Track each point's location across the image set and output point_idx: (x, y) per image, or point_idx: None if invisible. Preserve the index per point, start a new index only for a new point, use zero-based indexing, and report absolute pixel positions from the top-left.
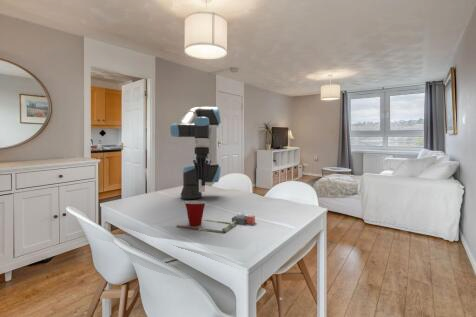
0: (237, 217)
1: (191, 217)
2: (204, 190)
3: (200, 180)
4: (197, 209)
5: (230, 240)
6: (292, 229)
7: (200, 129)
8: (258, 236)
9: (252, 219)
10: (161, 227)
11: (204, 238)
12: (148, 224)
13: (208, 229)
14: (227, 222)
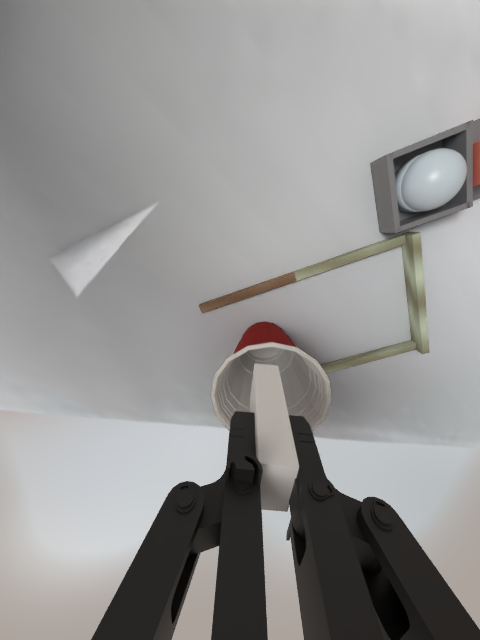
0: (424, 210)
1: None
2: (278, 375)
3: (285, 502)
4: (304, 393)
5: (471, 377)
6: None
7: None
8: None
9: None
10: (206, 416)
11: (390, 405)
12: (148, 421)
13: (360, 363)
14: (368, 251)
